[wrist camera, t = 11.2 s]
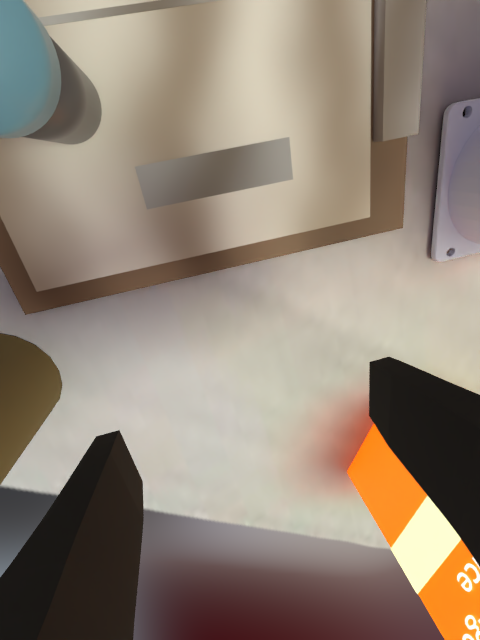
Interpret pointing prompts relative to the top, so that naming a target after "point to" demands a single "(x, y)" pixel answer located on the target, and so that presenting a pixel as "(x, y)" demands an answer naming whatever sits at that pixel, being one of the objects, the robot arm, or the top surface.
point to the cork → (23, 396)
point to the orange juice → (420, 539)
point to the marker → (41, 83)
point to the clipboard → (212, 140)
